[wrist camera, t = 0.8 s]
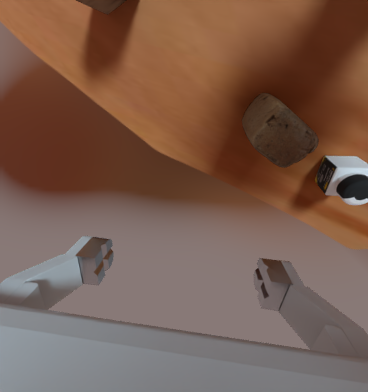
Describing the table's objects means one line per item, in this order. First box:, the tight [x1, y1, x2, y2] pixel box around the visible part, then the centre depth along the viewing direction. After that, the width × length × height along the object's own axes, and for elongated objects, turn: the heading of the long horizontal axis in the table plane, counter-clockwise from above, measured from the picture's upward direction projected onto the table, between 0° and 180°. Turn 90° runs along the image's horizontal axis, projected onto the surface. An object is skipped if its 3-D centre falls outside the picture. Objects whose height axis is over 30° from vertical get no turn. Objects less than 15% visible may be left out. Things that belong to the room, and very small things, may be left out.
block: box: [242, 93, 319, 168], centre depth 36 cm, size 11×8×20 cm
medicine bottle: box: [315, 156, 368, 205], centre depth 42 cm, size 7×7×12 cm
